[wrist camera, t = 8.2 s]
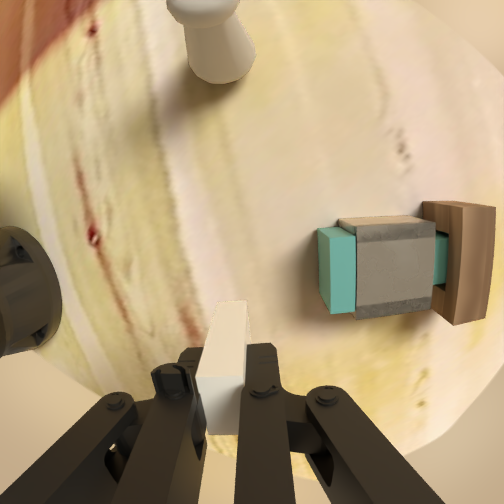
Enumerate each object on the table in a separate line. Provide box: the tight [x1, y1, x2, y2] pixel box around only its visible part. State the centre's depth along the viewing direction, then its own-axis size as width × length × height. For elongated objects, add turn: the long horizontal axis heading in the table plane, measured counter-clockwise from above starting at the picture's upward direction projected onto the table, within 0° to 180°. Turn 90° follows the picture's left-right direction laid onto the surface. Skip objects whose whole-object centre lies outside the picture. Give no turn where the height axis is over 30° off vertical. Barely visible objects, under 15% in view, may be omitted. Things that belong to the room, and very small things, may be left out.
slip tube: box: [317, 227, 449, 314], centre depth 25 cm, size 14×6×5 cm, turn 95°
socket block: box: [423, 201, 496, 326], centre depth 24 cm, size 4×10×7 cm, turn 5°
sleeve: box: [339, 215, 436, 320], centre depth 25 cm, size 7×7×6 cm
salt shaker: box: [166, 0, 256, 84], centre depth 18 cm, size 6×6×13 cm
